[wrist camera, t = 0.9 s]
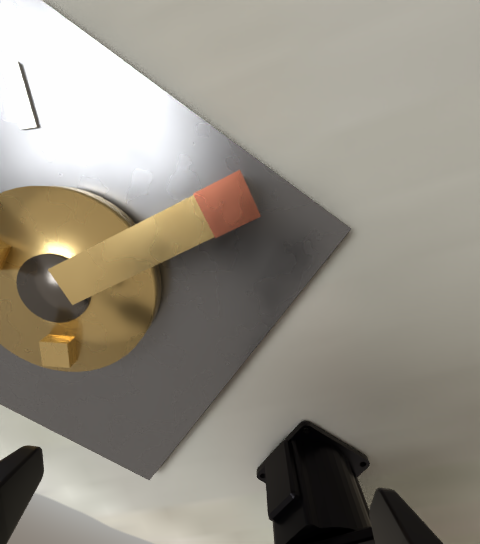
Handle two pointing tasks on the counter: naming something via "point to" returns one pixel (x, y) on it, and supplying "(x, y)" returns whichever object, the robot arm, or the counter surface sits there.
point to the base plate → (139, 206)
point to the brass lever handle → (95, 267)
